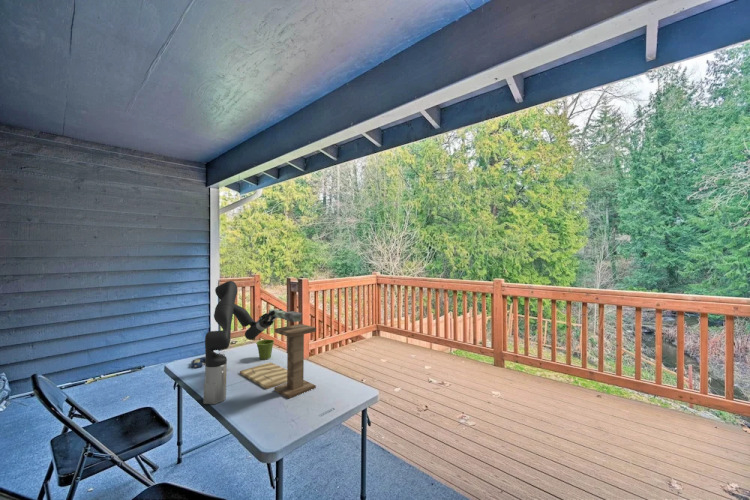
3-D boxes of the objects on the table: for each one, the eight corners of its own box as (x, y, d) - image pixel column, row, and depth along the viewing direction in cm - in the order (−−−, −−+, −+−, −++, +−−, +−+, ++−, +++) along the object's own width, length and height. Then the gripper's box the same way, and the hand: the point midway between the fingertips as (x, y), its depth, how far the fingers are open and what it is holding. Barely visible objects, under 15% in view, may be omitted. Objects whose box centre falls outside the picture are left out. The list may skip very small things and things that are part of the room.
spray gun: (230, 362, 198) (222, 357, 209) (230, 355, 199) (221, 351, 209) (194, 371, 183) (187, 365, 194) (194, 364, 184) (187, 359, 194)
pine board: (299, 378, 172) (299, 375, 172) (266, 389, 157) (266, 386, 157) (270, 364, 193) (270, 362, 194) (239, 373, 179) (239, 370, 179)
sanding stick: (301, 320, 159) (301, 313, 159) (293, 322, 155) (293, 314, 156) (275, 314, 177) (276, 307, 177) (268, 315, 173) (268, 308, 173)
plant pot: (256, 356, 210) (256, 340, 210) (274, 354, 213) (274, 338, 213) (255, 362, 198) (255, 344, 199) (273, 360, 202) (274, 343, 202)
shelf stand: (315, 388, 159) (316, 327, 160) (289, 398, 147) (289, 333, 148) (300, 381, 168) (300, 323, 169) (274, 390, 156) (275, 328, 157)
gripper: (251, 318, 176) (264, 306, 167) (274, 314, 187) (287, 303, 177) (254, 330, 174) (267, 319, 164) (277, 326, 184) (290, 315, 174)
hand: (277, 311), depth 171 cm, fingers closed on sanding stick, 4 cm apart
